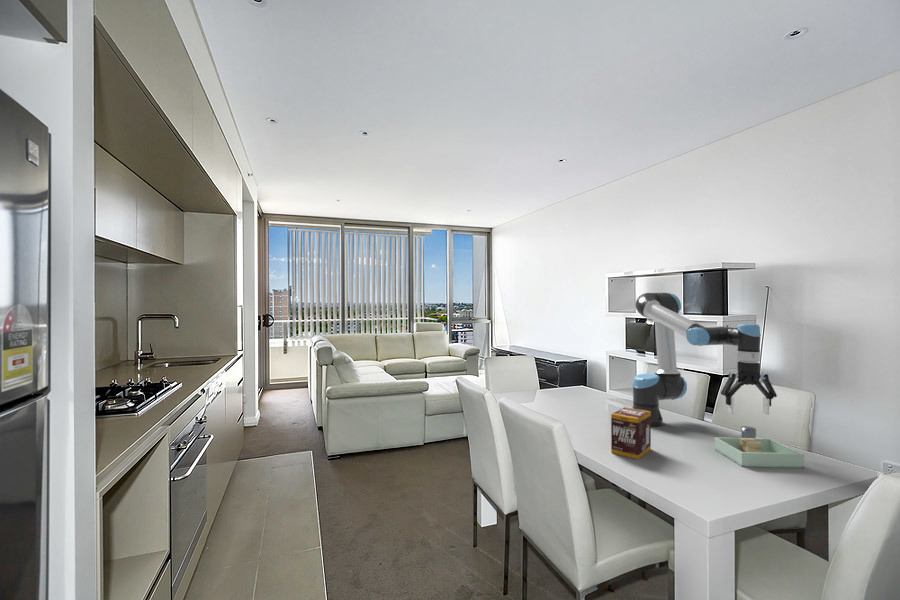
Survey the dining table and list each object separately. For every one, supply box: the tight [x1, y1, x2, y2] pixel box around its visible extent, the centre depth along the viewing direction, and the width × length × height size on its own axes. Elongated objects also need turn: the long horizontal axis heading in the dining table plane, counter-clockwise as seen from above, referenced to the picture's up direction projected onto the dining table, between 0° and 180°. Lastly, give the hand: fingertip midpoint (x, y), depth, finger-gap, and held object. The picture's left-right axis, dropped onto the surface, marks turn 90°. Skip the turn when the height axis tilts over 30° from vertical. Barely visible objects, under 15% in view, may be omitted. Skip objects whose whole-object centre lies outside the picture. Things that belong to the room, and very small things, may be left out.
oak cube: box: [739, 437, 762, 453], centre depth 164 cm, size 5×5×5 cm
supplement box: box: [610, 407, 652, 460], centre depth 169 cm, size 10×15×16 cm
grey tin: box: [740, 425, 757, 438], centre depth 176 cm, size 5×5×7 cm
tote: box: [714, 436, 805, 469], centre depth 161 cm, size 17×21×5 cm
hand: (748, 413), depth 172 cm, fingers open, 13 cm apart
